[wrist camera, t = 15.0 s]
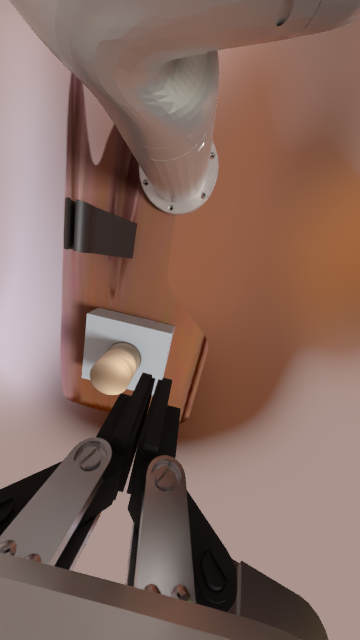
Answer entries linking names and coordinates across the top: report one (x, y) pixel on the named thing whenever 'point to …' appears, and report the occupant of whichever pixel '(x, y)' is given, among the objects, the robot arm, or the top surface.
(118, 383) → the beech peg
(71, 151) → the top surface
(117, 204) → the top surface
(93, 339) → the gray rectangular block
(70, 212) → the dark grey a-shaped piece
